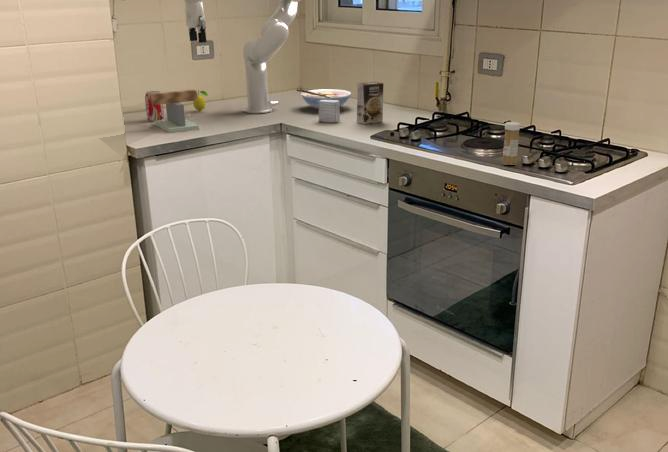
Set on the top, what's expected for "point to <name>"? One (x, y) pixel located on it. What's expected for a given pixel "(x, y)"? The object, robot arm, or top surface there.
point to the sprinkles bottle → (511, 142)
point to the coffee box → (370, 102)
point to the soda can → (153, 108)
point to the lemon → (200, 101)
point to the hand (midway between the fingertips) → (198, 41)
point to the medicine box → (329, 111)
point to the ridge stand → (176, 119)
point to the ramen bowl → (324, 96)
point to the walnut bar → (173, 97)
